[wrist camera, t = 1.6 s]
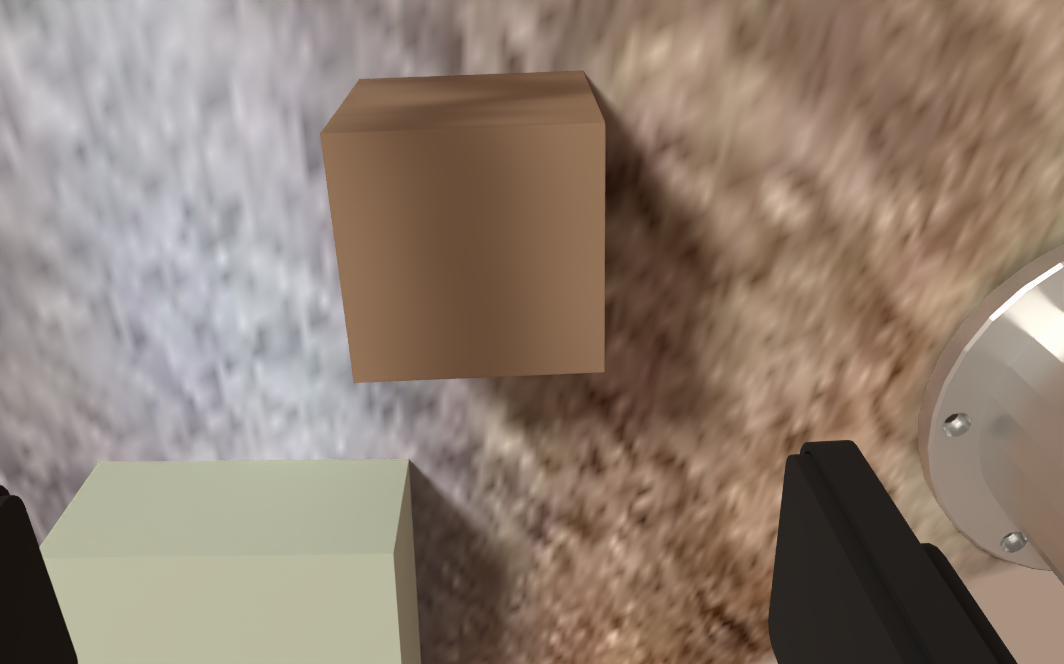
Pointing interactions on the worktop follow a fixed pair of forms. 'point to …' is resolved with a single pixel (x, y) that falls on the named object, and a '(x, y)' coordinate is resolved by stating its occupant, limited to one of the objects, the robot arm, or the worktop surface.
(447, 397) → the worktop surface
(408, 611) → the sage block
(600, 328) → the walnut block
